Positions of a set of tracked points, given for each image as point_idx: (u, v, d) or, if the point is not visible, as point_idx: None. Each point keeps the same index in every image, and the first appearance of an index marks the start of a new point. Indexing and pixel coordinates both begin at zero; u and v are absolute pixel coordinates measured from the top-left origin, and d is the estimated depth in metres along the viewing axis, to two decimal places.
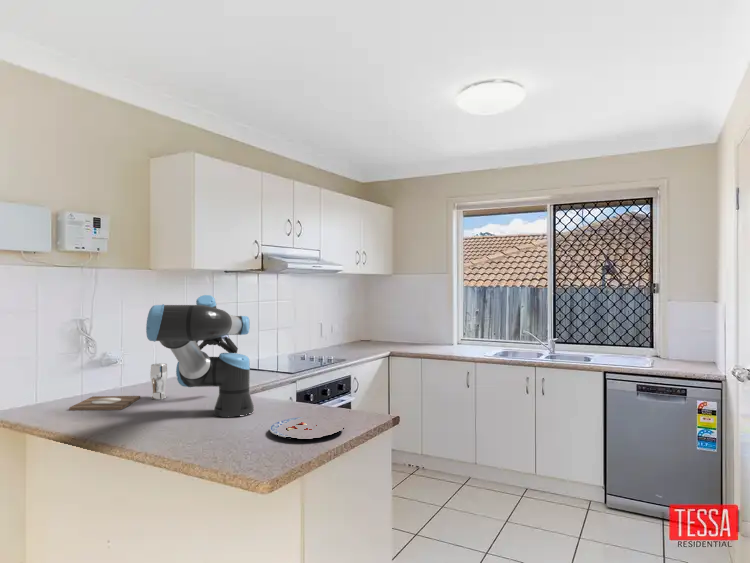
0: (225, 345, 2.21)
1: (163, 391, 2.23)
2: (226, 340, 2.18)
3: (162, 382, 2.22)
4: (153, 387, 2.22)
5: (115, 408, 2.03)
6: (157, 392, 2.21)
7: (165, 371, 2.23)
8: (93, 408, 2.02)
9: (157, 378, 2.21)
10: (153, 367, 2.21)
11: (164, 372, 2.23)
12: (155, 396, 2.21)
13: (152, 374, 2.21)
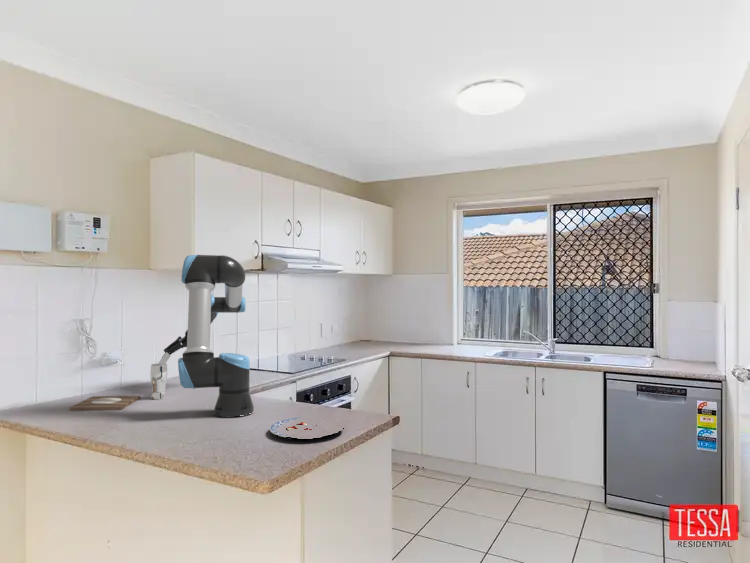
0: None
1: (163, 391, 2.23)
2: None
3: (162, 382, 2.22)
4: (153, 387, 2.22)
5: (115, 408, 2.03)
6: (157, 392, 2.21)
7: (165, 371, 2.23)
8: (93, 408, 2.02)
9: (157, 378, 2.21)
10: (153, 367, 2.21)
11: (164, 372, 2.23)
12: (155, 396, 2.21)
13: (152, 374, 2.21)
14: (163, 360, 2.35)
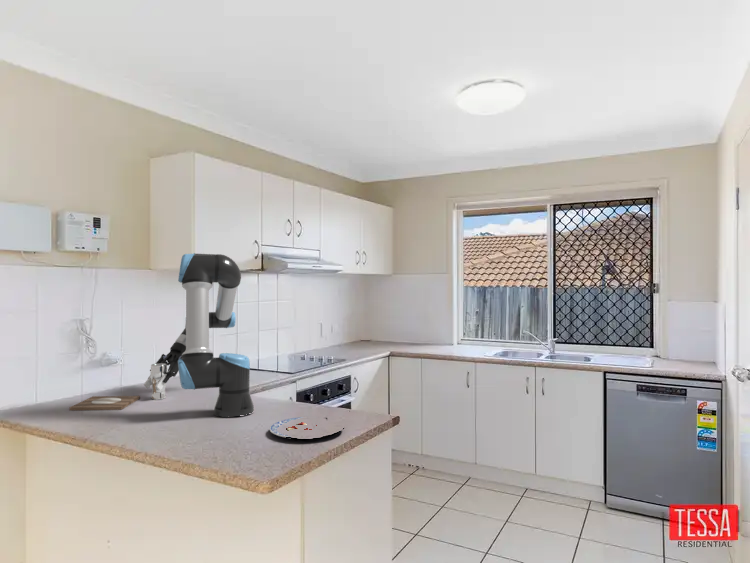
0: (173, 366, 2.26)
1: (163, 391, 2.23)
2: (180, 358, 2.27)
3: None
4: (153, 387, 2.22)
5: (115, 408, 2.03)
6: (157, 392, 2.21)
7: (165, 371, 2.23)
8: (93, 408, 2.02)
9: (157, 378, 2.21)
10: (153, 367, 2.21)
11: (164, 372, 2.23)
12: (155, 396, 2.21)
13: (152, 374, 2.21)
14: (149, 381, 2.24)
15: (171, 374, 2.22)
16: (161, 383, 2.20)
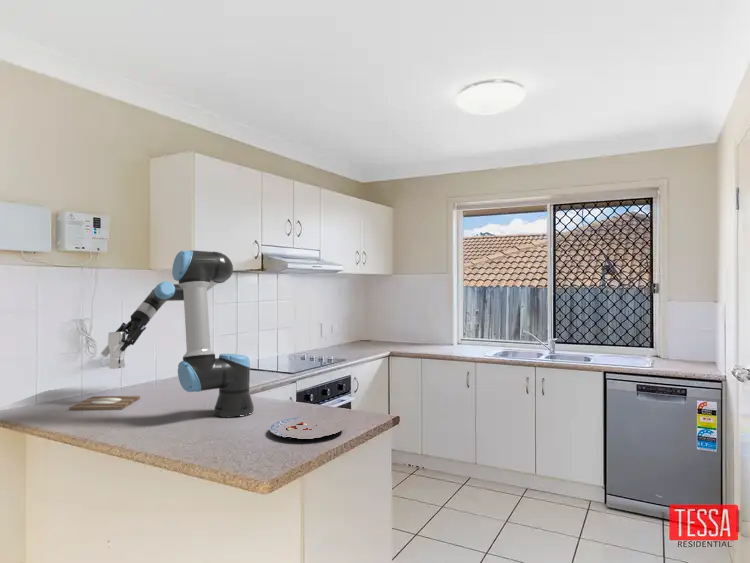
0: (132, 334, 2.18)
1: (121, 360, 2.15)
2: (139, 326, 2.19)
3: None
4: (111, 355, 2.13)
5: (115, 408, 2.03)
6: (114, 361, 2.13)
7: (123, 339, 2.15)
8: (93, 408, 2.02)
9: (114, 346, 2.13)
10: (110, 335, 2.13)
11: (122, 340, 2.14)
12: (113, 365, 2.13)
13: (109, 342, 2.13)
14: (107, 349, 2.16)
15: (129, 342, 2.14)
16: (118, 351, 2.12)
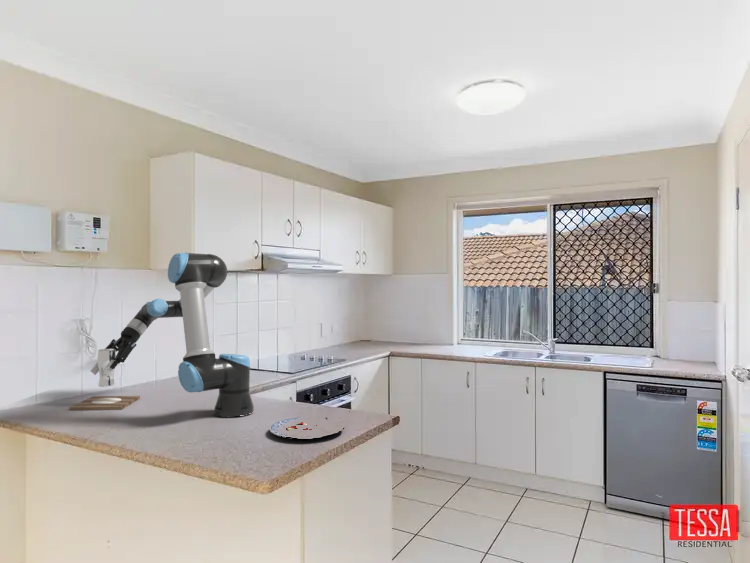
0: (122, 352, 2.15)
1: (111, 378, 2.12)
2: (130, 343, 2.16)
3: None
4: (100, 373, 2.11)
5: (115, 408, 2.03)
6: (104, 379, 2.10)
7: (113, 357, 2.12)
8: (93, 408, 2.02)
9: (104, 364, 2.10)
10: (100, 352, 2.10)
11: (112, 358, 2.11)
12: (102, 383, 2.10)
13: (99, 360, 2.10)
14: (96, 367, 2.13)
15: (119, 360, 2.11)
16: (108, 369, 2.09)
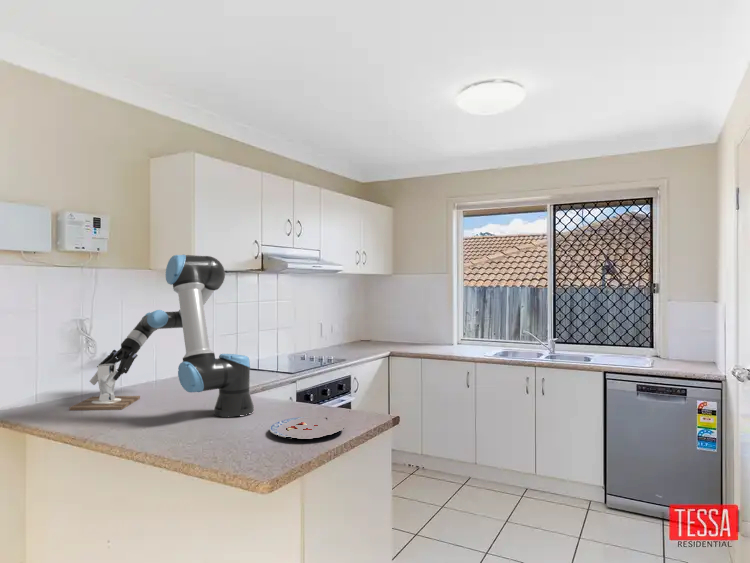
0: (124, 362, 2.15)
1: (111, 393, 2.12)
2: (131, 354, 2.16)
3: None
4: (100, 389, 2.10)
5: (115, 408, 2.03)
6: (104, 394, 2.10)
7: (113, 371, 2.12)
8: (93, 408, 2.02)
9: (104, 379, 2.09)
10: (100, 367, 2.10)
11: (112, 373, 2.11)
12: (102, 398, 2.10)
13: (99, 375, 2.10)
14: (95, 377, 2.13)
15: (122, 371, 2.10)
16: (111, 380, 2.08)
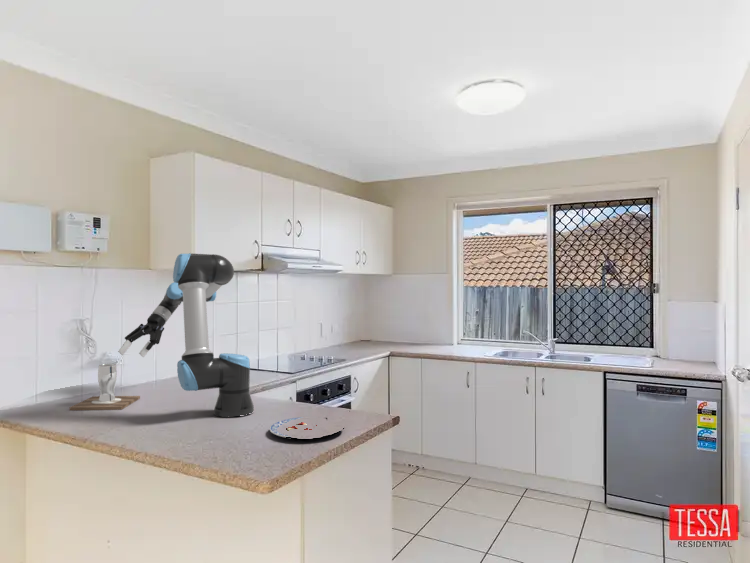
0: (153, 335, 2.27)
1: (111, 393, 2.12)
2: (159, 327, 2.28)
3: (110, 383, 2.11)
4: (101, 389, 2.10)
5: (115, 408, 2.03)
6: (104, 394, 2.10)
7: (114, 372, 2.12)
8: (93, 408, 2.02)
9: (105, 379, 2.09)
10: (100, 368, 2.09)
11: (112, 373, 2.11)
12: (103, 398, 2.10)
13: (99, 375, 2.09)
14: (123, 348, 2.26)
15: (154, 341, 2.22)
16: (144, 350, 2.20)
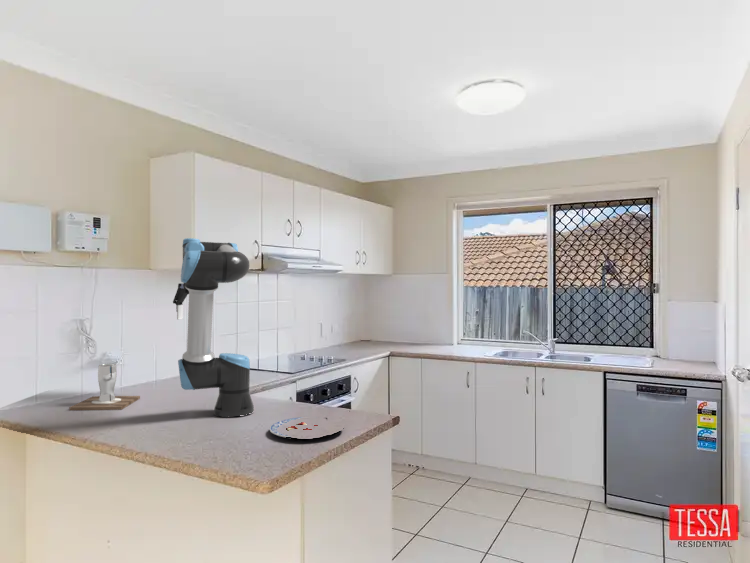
0: None
1: (111, 393, 2.12)
2: None
3: (110, 383, 2.11)
4: (101, 389, 2.10)
5: (115, 408, 2.03)
6: (104, 394, 2.10)
7: (114, 372, 2.12)
8: (93, 408, 2.02)
9: (105, 379, 2.09)
10: (100, 368, 2.09)
11: (112, 373, 2.11)
12: (103, 398, 2.10)
13: (99, 375, 2.09)
14: (179, 314, 2.30)
15: None
16: None
